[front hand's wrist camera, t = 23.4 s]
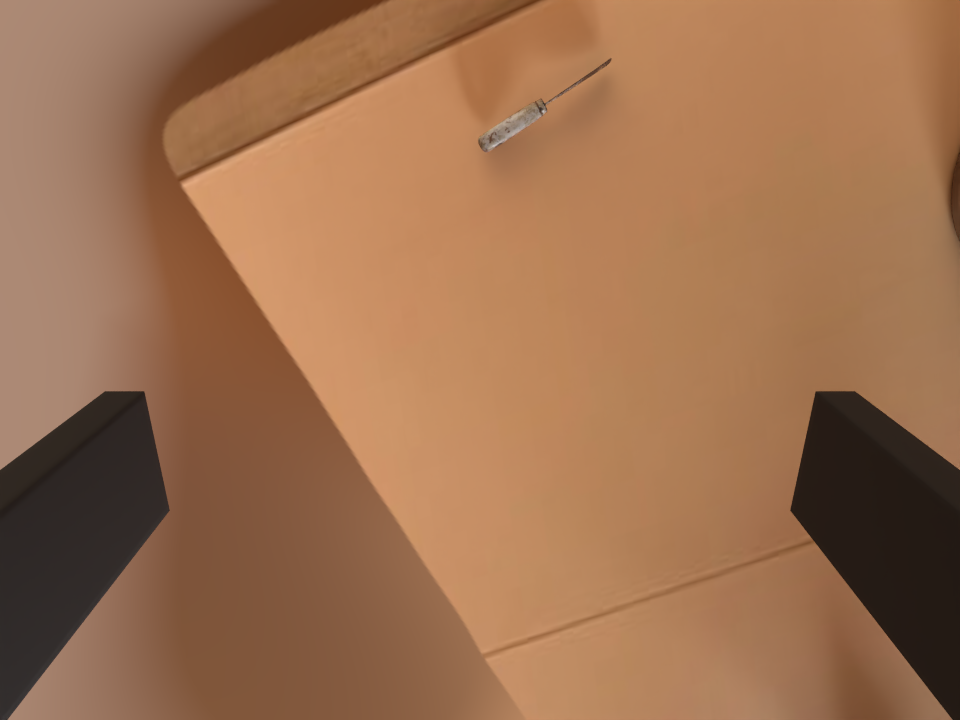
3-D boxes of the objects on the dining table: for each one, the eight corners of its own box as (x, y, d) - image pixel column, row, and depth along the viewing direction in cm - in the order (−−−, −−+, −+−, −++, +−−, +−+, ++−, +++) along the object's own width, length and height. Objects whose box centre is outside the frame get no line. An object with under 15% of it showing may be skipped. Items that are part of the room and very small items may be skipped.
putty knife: (475, 138, 35) (475, 140, 33) (601, 49, 33) (607, 46, 32) (485, 154, 35) (486, 157, 34) (611, 67, 34) (617, 65, 32)
